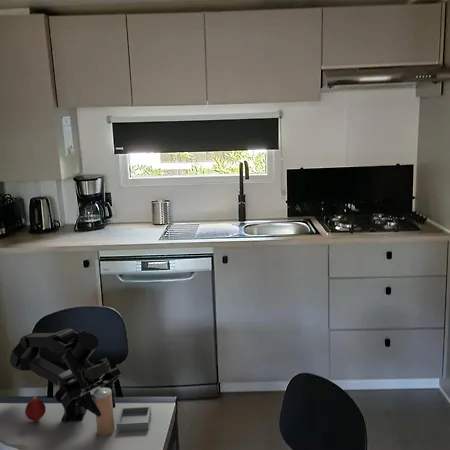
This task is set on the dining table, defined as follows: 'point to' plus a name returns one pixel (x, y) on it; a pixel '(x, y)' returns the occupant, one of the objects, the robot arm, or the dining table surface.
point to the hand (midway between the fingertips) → (107, 411)
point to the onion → (35, 409)
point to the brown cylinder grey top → (104, 411)
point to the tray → (134, 419)
